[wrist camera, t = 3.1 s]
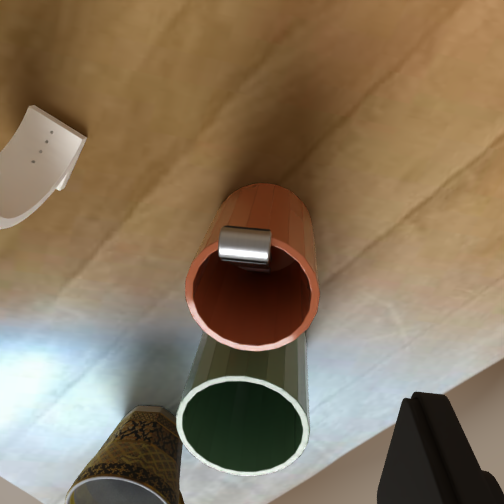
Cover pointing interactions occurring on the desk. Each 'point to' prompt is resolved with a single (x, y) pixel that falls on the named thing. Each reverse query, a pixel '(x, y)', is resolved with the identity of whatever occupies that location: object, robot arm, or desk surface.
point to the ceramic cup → (134, 463)
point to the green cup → (246, 407)
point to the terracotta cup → (257, 274)
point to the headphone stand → (35, 164)
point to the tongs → (246, 248)
